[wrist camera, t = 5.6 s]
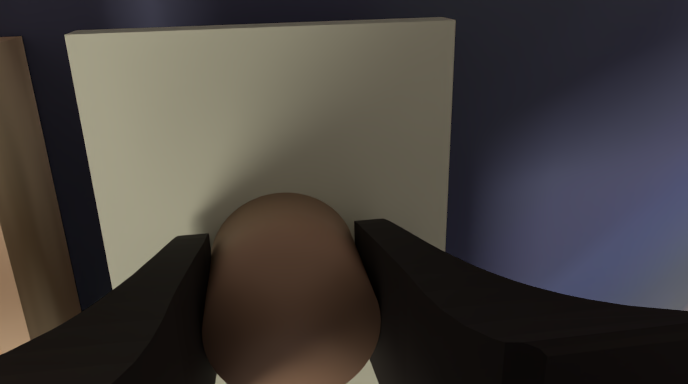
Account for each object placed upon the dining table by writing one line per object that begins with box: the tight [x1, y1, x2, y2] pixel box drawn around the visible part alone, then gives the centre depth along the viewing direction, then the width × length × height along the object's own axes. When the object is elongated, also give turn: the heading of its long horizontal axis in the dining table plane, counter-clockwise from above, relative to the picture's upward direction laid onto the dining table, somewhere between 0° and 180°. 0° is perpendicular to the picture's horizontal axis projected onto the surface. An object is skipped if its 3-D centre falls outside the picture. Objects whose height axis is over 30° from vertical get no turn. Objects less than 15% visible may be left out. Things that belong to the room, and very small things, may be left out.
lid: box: [64, 17, 456, 384], centre depth 12 cm, size 9×7×4 cm
